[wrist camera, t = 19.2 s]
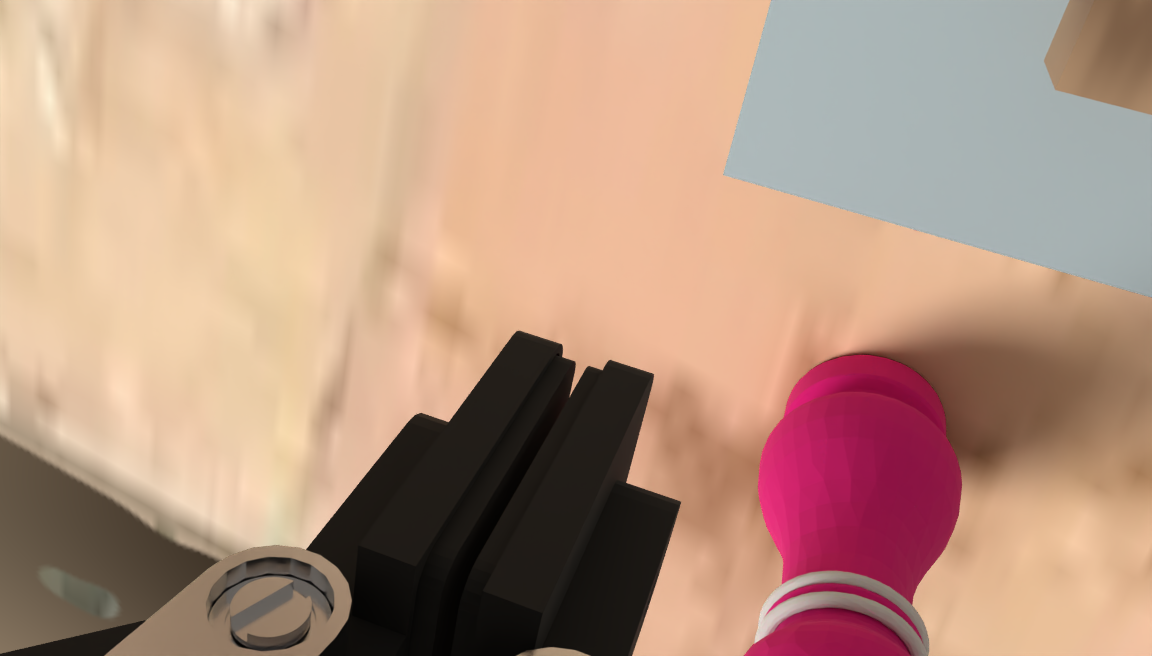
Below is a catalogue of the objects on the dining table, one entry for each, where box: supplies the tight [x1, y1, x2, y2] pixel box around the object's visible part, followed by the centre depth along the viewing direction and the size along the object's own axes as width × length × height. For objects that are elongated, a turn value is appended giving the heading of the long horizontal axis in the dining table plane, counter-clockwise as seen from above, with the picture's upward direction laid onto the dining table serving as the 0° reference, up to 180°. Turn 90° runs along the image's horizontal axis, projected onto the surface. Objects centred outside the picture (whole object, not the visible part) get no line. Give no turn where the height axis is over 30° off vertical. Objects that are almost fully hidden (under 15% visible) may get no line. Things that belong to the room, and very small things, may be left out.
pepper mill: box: [744, 355, 962, 656], centre depth 33 cm, size 7×7×20 cm
